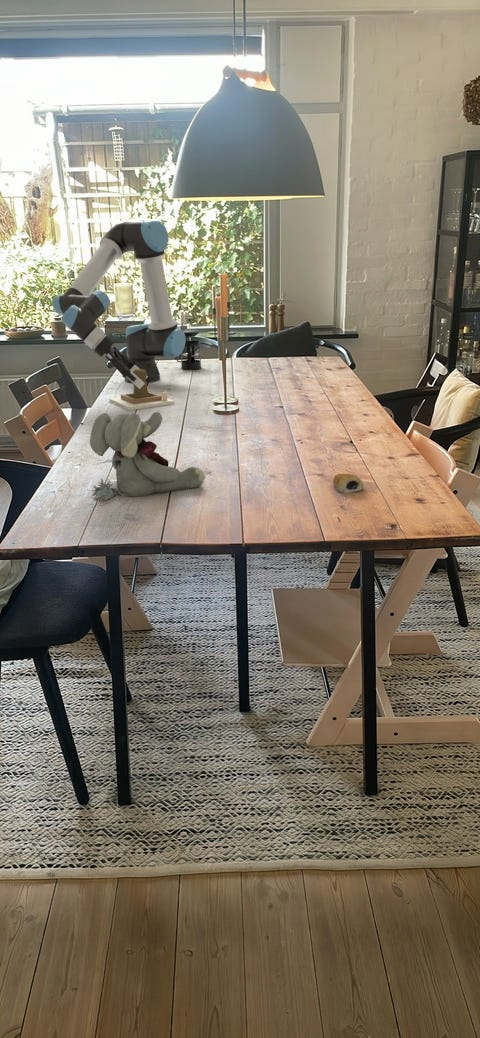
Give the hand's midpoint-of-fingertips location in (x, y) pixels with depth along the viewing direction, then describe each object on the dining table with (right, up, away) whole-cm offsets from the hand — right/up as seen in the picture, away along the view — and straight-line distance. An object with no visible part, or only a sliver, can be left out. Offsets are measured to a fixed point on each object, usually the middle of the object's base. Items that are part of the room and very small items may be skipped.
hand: (144, 382), depth 282 cm
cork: (-1, -6, +3) cm, 7 cm away
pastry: (+61, -43, -94) cm, 120 cm away
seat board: (-1, -7, +3) cm, 8 cm away
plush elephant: (+10, -43, -92) cm, 102 cm away
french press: (+12, +19, +72) cm, 75 cm away
